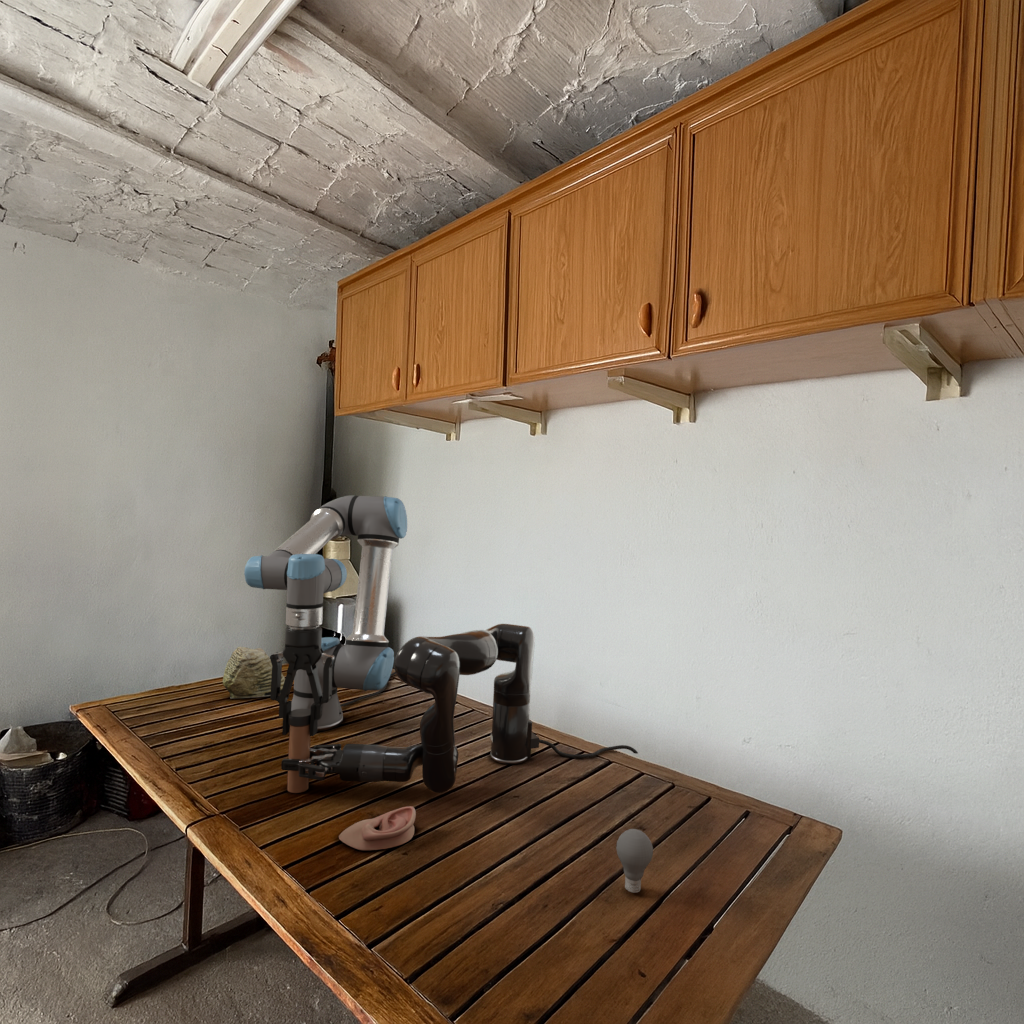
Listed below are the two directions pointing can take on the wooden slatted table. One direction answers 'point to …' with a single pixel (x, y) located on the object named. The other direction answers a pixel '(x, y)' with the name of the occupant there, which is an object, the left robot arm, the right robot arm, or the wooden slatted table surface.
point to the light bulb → (634, 857)
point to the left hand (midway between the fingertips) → (299, 732)
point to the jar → (298, 756)
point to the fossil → (249, 674)
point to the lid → (299, 717)
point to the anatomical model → (381, 830)
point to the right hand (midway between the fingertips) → (286, 759)
